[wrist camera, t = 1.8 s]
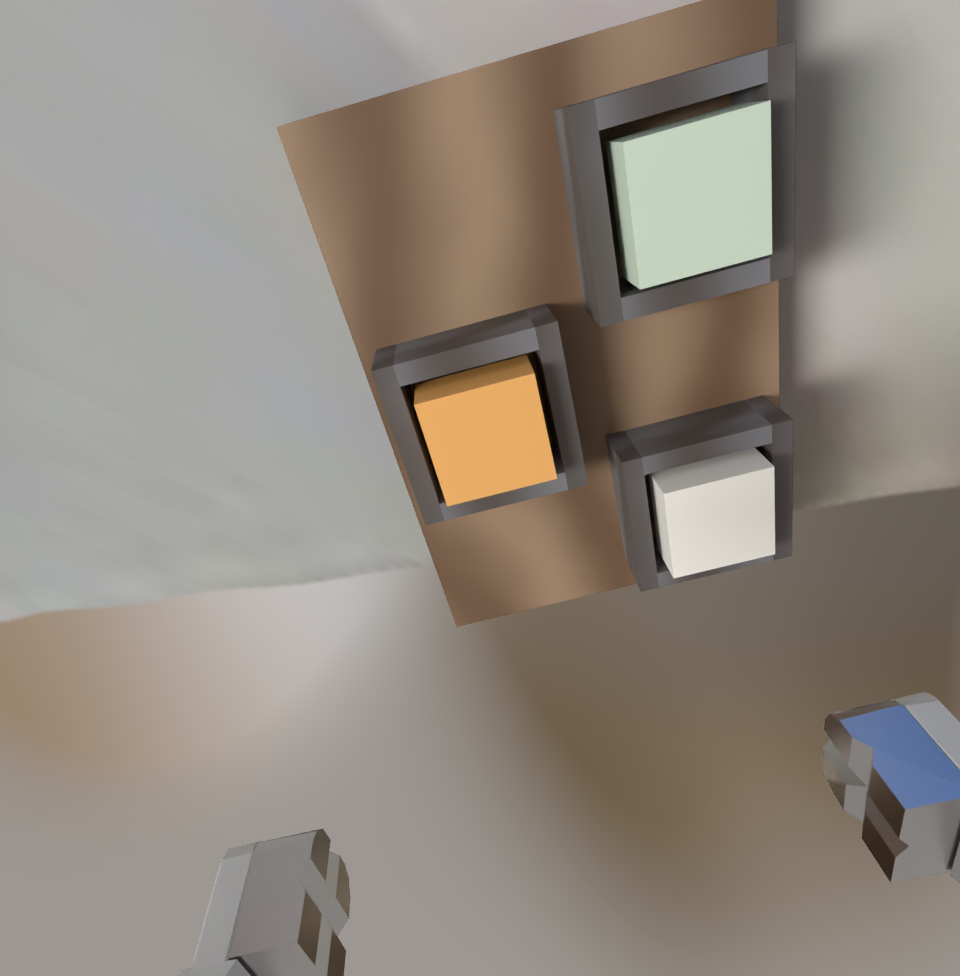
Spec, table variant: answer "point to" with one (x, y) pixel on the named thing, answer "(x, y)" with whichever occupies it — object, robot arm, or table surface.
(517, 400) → the orange button
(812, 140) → the table surface
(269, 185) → the table surface
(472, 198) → the button panel
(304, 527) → the table surface
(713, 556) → the cream button
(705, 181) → the sage button
